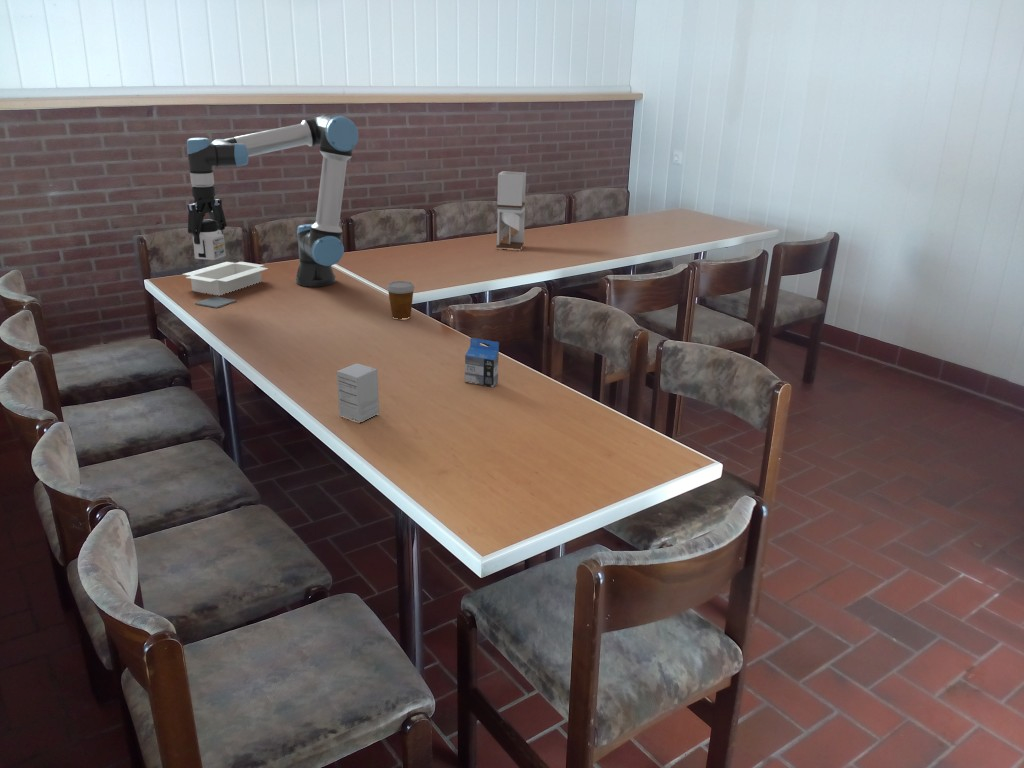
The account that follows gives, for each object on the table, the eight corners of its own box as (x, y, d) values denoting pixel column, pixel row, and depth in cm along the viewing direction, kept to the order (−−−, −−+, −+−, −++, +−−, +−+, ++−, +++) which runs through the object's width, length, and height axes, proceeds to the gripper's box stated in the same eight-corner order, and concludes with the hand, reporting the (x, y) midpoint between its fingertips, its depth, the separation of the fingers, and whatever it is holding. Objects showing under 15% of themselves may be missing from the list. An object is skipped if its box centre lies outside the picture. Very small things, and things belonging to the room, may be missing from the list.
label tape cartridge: (464, 382, 231) (464, 341, 226) (469, 378, 234) (469, 337, 230) (493, 387, 228) (494, 346, 223) (498, 383, 231) (499, 341, 227)
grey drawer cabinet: (359, 407, 213) (357, 362, 208) (380, 415, 209) (378, 368, 204) (338, 417, 207) (335, 370, 202) (359, 424, 203) (357, 377, 198)
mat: (236, 301, 298) (236, 300, 298) (216, 308, 290) (216, 306, 289) (215, 297, 302) (215, 296, 302) (195, 304, 293) (195, 302, 293)
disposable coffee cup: (393, 323, 279) (392, 288, 275) (383, 315, 287) (382, 282, 283) (419, 319, 284) (418, 286, 279) (409, 312, 291) (408, 279, 287)
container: (214, 260, 285) (210, 223, 280) (194, 258, 287) (190, 221, 282) (226, 255, 292) (222, 219, 287) (206, 254, 294) (202, 217, 289)
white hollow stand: (496, 249, 388) (497, 174, 375) (500, 245, 398) (502, 171, 385) (520, 251, 387) (522, 175, 373) (523, 246, 396) (526, 172, 383)
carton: (274, 281, 325) (273, 266, 322) (221, 299, 300) (220, 283, 298) (233, 274, 333) (231, 260, 330) (178, 291, 308) (176, 275, 306)
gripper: (217, 180, 291) (223, 243, 299) (170, 188, 273) (178, 255, 281) (233, 182, 288) (239, 246, 296) (187, 190, 270) (195, 257, 278)
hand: (210, 250), depth 289 cm, fingers closed on container, 9 cm apart
